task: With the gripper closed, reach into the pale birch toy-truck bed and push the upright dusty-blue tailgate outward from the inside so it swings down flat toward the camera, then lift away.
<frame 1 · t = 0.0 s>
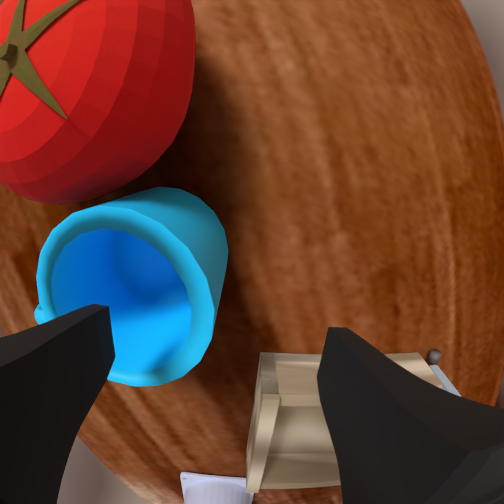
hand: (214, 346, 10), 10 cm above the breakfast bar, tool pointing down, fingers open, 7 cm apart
truck bed: (329, 410, 23), on the breakfast bar
mug: (140, 259, 20), on the breakfast bar
tailgate: (421, 433, 20), point 4 cm above the breakfast bar, hinge at 0.0°
tomato: (120, 91, 16), on the breakfast bar
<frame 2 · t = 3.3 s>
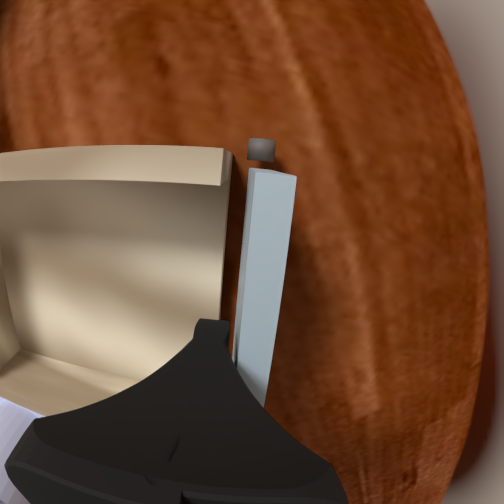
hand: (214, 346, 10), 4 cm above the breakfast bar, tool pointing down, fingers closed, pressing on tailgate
truck bed: (90, 276, 14), on the breakfast bar
tailgate: (247, 342, 10), point 4 cm above the breakfast bar, hinge at 1.6°, touching gripper
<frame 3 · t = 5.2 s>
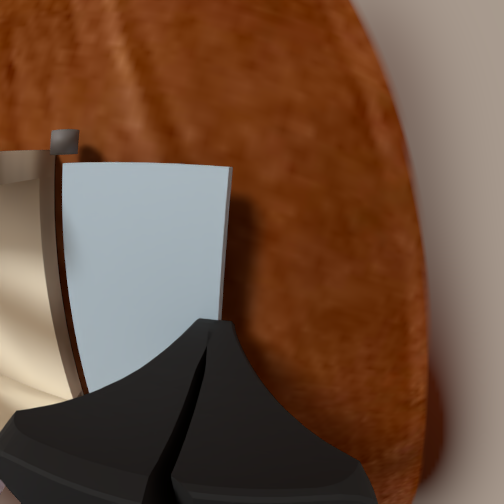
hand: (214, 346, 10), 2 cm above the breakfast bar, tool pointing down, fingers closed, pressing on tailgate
tailgate: (141, 329, 10), point 1 cm above the breakfast bar, hinge at 86.1°, touching gripper
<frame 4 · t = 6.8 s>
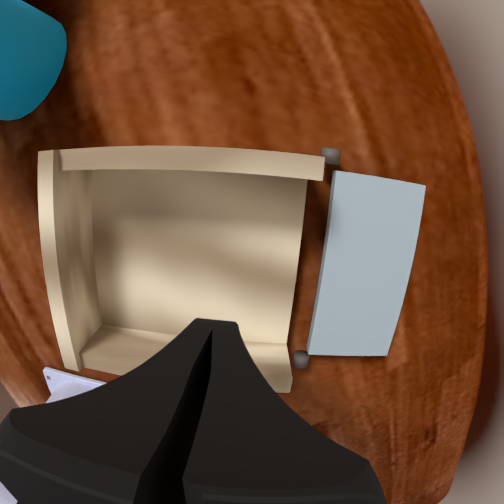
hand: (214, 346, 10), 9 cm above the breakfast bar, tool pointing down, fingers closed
truck bed: (183, 253, 18), on the breakfast bar
mug: (8, 81, 14), on the breakfast bar
tailgate: (366, 272, 17), point 1 cm above the breakfast bar, hinge at 87.3°
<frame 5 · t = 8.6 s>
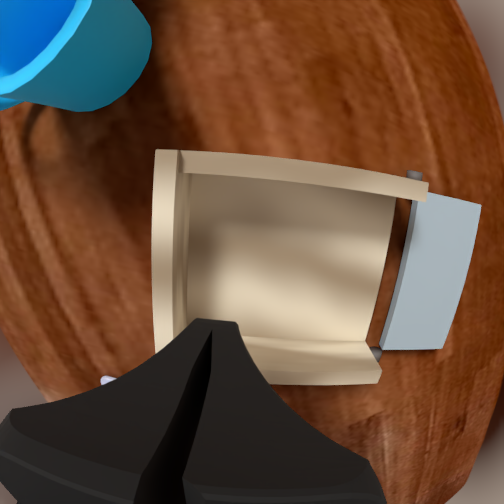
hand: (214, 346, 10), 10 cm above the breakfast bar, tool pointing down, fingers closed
truck bed: (280, 259, 19), on the breakfast bar
mug: (73, 69, 16), on the breakfast bar
tailgate: (433, 277, 18), point 1 cm above the breakfast bar, hinge at 87.3°
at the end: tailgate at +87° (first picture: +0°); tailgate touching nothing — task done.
